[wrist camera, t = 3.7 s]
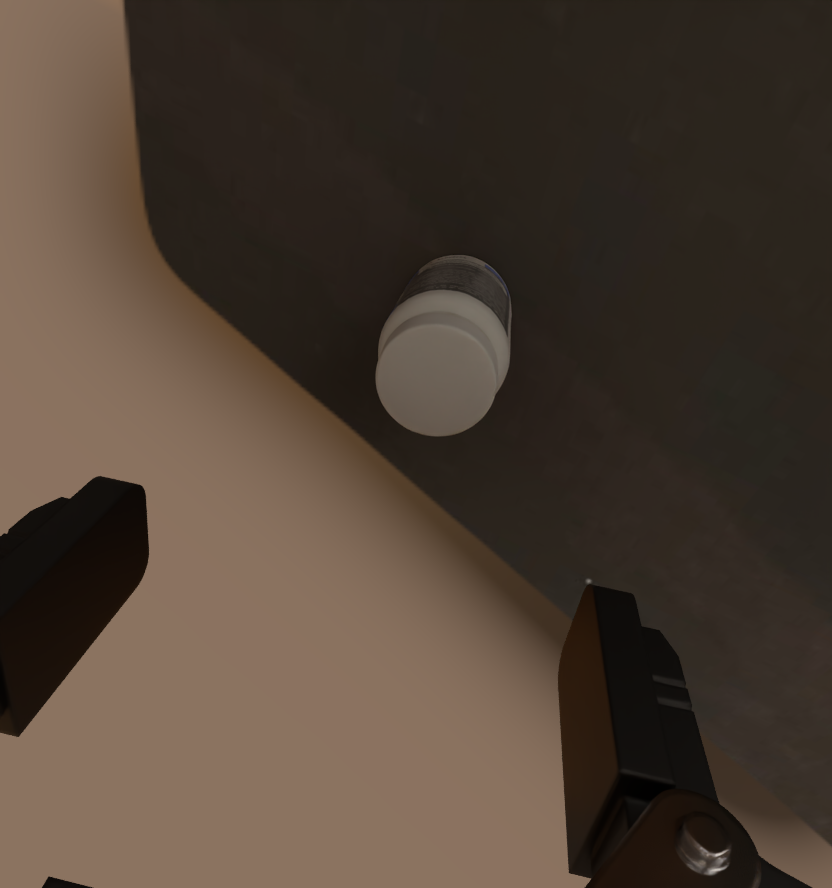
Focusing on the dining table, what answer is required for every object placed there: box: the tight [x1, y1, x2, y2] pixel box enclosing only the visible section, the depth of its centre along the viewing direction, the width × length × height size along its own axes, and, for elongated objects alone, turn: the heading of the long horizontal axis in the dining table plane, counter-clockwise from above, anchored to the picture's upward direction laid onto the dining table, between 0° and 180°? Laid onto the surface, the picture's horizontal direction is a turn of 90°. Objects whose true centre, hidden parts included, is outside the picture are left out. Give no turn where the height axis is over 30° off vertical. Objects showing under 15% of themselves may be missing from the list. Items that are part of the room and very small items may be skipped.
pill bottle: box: [376, 255, 512, 436], centre depth 25 cm, size 5×5×8 cm
